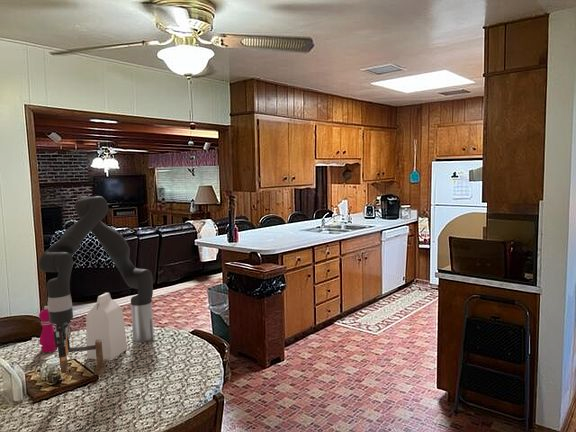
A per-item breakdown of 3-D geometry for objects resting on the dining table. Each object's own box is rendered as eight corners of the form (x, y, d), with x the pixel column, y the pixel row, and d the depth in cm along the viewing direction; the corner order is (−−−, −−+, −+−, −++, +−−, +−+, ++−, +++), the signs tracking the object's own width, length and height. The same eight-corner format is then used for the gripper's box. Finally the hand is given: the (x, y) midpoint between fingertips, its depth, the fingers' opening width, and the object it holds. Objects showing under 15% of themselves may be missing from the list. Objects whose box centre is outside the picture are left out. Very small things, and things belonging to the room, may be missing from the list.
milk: (111, 359, 182) (107, 299, 180) (87, 358, 184) (82, 298, 182) (127, 348, 194) (123, 291, 191) (104, 347, 196) (100, 290, 194)
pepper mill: (52, 352, 191) (49, 308, 189) (36, 353, 191) (33, 308, 190) (61, 346, 198) (58, 303, 197) (46, 346, 199) (42, 303, 197)
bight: (68, 353, 160) (67, 334, 159) (65, 360, 154) (63, 340, 153) (64, 354, 159) (62, 334, 158) (60, 361, 154) (59, 340, 153)
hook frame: (106, 364, 178) (104, 335, 177) (102, 374, 168) (100, 344, 167) (63, 369, 174) (60, 340, 173) (56, 381, 164) (54, 350, 163)
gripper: (67, 312, 149) (71, 360, 151) (76, 300, 163) (79, 344, 164) (43, 315, 147) (47, 363, 149) (53, 303, 161) (58, 347, 162)
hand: (64, 353), depth 156 cm, fingers closed on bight, 5 cm apart
